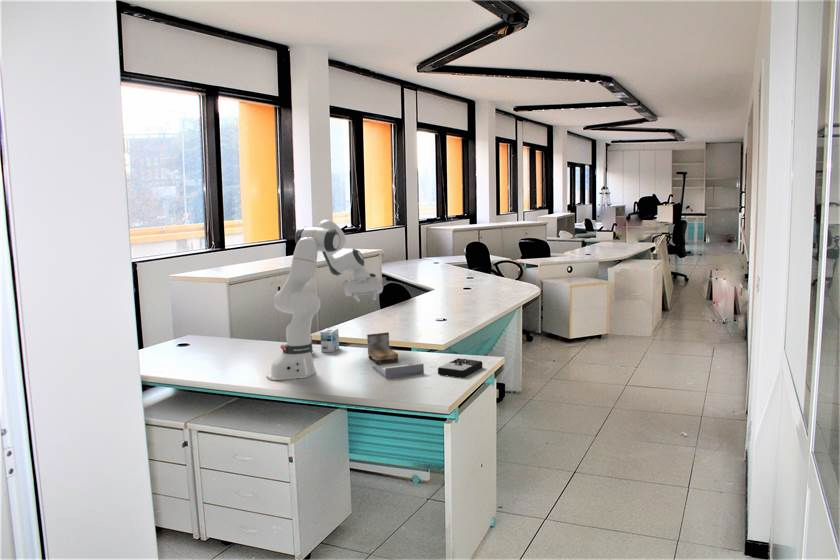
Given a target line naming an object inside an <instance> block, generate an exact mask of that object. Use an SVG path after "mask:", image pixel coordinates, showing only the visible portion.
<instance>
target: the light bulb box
mask: <svg viewBox="0 0 840 560" xmlns="http://www.w3.org/2000/svg"><path fill="white" fill-rule="evenodd" d="M339 336H340V335H339V328H334V327H333V328H330V327H326V328H325V329H324V330H323V329H322V331H320V346H321V348H320V351H321V353H334V352H335V351H337V350H338V349H340V342H339V341H340V339H339Z"/></svg>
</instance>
